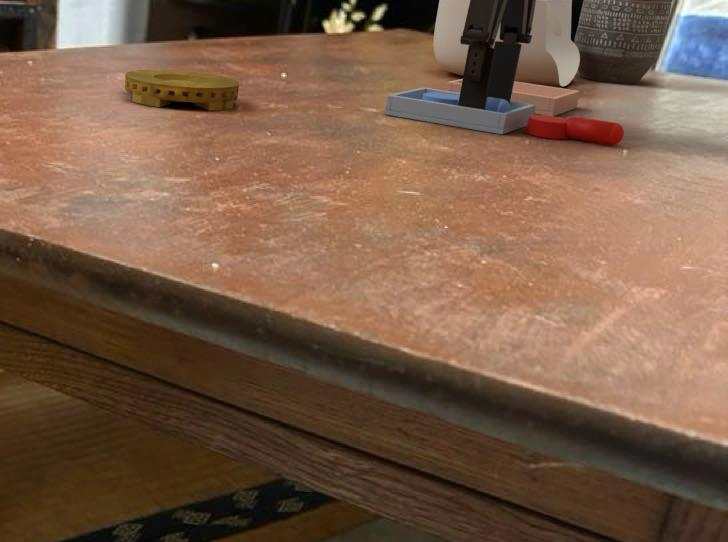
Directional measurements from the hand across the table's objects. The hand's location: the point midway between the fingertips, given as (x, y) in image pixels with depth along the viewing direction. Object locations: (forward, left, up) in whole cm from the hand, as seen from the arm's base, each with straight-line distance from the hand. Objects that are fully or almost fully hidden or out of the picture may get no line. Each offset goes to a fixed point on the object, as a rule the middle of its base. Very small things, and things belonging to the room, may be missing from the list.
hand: (483, 109), depth 119 cm
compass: (+27, +18, -2) cm, 32 cm away
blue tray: (+3, 0, -1) cm, 3 cm away
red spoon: (-10, 0, -1) cm, 11 cm away
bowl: (+12, -41, -2) cm, 43 cm away
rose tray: (+3, -18, -1) cm, 18 cm away
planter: (+1, -60, -2) cm, 60 cm away
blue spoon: (+2, 0, -1) cm, 2 cm away
